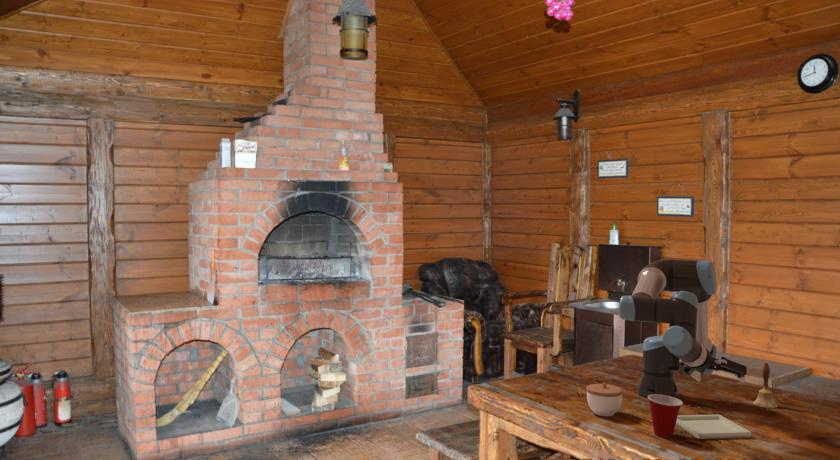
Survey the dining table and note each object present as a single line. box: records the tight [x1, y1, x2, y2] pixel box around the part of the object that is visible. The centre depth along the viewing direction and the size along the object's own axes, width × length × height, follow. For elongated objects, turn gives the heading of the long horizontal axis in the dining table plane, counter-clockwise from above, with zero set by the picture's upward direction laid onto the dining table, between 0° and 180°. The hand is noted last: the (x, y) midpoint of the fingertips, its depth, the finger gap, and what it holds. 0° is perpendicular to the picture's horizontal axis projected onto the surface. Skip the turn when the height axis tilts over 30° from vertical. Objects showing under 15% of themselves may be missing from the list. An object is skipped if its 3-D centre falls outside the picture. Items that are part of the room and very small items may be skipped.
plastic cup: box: [647, 394, 684, 438], centre depth 207 cm, size 11×11×12 cm
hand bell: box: [752, 362, 779, 409], centre depth 241 cm, size 8×8×16 cm
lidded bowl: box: [585, 382, 624, 417], centre depth 229 cm, size 13×13×11 cm
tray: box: [675, 414, 752, 440], centre depth 213 cm, size 18×18×2 cm
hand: (721, 377), depth 203 cm, fingers open, 13 cm apart
